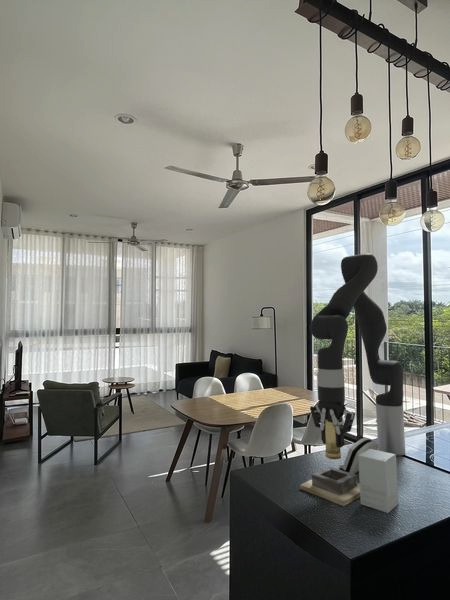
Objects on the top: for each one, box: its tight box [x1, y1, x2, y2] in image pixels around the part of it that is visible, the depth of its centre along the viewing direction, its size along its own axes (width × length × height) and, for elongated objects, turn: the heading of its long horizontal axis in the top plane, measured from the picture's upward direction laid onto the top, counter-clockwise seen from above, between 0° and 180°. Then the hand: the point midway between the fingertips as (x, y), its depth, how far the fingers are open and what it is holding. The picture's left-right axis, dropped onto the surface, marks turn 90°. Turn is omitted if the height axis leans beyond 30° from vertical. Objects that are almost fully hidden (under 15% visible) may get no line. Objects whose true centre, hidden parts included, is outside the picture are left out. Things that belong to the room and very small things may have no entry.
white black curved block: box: [338, 437, 378, 475], centre depth 123 cm, size 17×5×10 cm, turn 136°
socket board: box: [299, 466, 360, 507], centre depth 105 cm, size 13×14×4 cm
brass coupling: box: [325, 420, 342, 460], centre depth 106 cm, size 4×4×10 cm
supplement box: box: [358, 449, 400, 514], centre depth 97 cm, size 7×7×13 cm
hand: (332, 444), depth 106 cm, fingers closed on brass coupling, 4 cm apart
